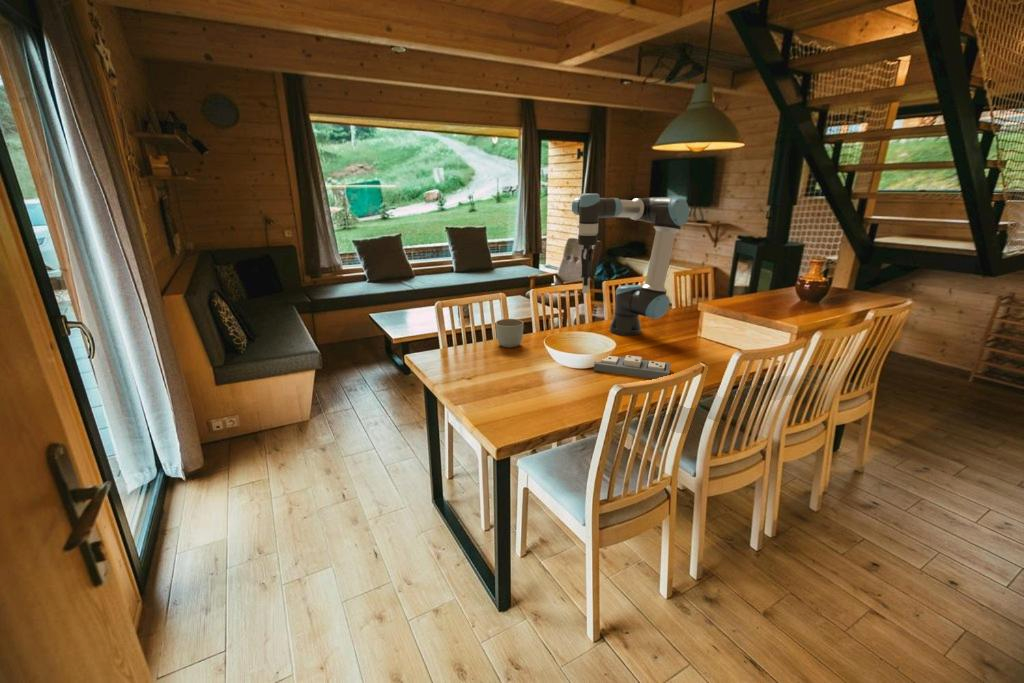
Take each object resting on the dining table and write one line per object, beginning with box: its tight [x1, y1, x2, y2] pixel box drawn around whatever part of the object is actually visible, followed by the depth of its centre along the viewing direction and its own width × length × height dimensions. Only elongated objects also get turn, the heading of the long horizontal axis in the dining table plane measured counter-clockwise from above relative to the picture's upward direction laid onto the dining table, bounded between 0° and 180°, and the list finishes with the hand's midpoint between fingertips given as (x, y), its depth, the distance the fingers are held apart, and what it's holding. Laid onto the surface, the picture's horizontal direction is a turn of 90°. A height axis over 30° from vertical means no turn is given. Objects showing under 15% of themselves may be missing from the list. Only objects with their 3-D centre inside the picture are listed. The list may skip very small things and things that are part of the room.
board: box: [593, 355, 672, 380], centre depth 185 cm, size 11×28×3 cm, turn 69°
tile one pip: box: [601, 355, 619, 364], centre depth 188 cm, size 6×6×3 cm
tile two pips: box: [624, 354, 643, 367], centre depth 184 cm, size 6×6×3 cm
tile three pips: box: [648, 360, 666, 371], centre depth 182 cm, size 6×6×3 cm
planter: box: [495, 318, 524, 349], centre depth 213 cm, size 12×12×11 cm
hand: (585, 292), depth 194 cm, fingers closed
